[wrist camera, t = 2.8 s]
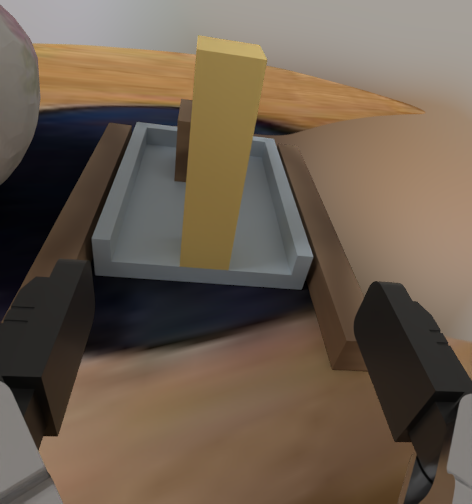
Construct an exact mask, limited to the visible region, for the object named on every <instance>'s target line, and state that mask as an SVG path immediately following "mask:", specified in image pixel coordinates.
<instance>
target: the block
mask: <svg viewBox="0 0 472 504" xmlns="http://www.w3.org/2000/svg"><path fill="white" fill-rule="evenodd" d="M192 101H193V100H185V99H181V105H180V111H179V117H178V126H177V144H176V161H175V178H174V181H178V182H186V177H187V165H188V152H189V139H190V127H191V114H192Z"/></svg>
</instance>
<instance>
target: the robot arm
mask: <svg viewBox="0 0 472 504" xmlns="http://www.w3.org/2000/svg"><path fill="white" fill-rule="evenodd" d="M94 313H95V296H94V287H93V278H92V269H91V263H90V261H89V260H76V259H62V258H60V259H58V261H57V262H56V264H55V266H54V268H53V270H52V272H51V275H50V277H38V276H36V277H35V278H33V279H32V280H31V281H30V282H29V283H27V284H26V285H25V286H24V287H23V288H21V289H20V290H19V292H18V294H17V296H16V298H15V299H14V301H13V303H12V305H11V309H9V310H8V312H7V314H6V316H5V318H4V319H3V320H4V321H3V323H1V325H0V504H63V502H62V500H61V498H60V495H59V493H58V491H57V489H56V487H55V484H54V482H53V480H52V478H51V476H50V474H49V473H48V472H47V470H46V467H45V465H44V463H43V461H42V459H41V456H40V454H39V452H38V450H39V447H40V444H41V441H42V438H43V436H58V434H59V431H60V428H61V424H62V421H63V418H64V415H65V411H66V408H67V405H68V402H69V398H70V395H71V392H72V389H73V385H74V382H75V379H76V376H77V372H78V369H79V366H80V363H81V359H82V356H83V353H84V349H85V346H86V343H87V340H88V336H89V333H90V330H91V327H92V323H93V319H94ZM354 335H355V338H356V341H357V344H358V346H359V349H360V352H361V354H362V357H363V360H364V362H365V365H366V367H367V370H368V373H369V375H370V378H371V381H372V383H373V386H374V388H375V391H376V394H377V396H378V399H379V402H380V404H381V407H382V410H383V412H384V415H385V417H386V420H387V423H388V425H389V428H390V431H391V433H392V436H393V439H394V441H395V442H412V444H413V446H414V449H415V451H414V452H413V454H412V455H411V458H410V461H409V464H408V468H407V471H406V475H405V478H404V482H403V485H402V489H401V492H400V496H399V499H398V503H397V504H472V381H471V379H470V378H469V376H468V374H467V373H466V371H465V369H464V368H463V366H462V364H461V363H460V361H459V360H458V358H457V356H456V355H455V353H454V351H453V350H452V348H451V346H448V342H447V340H446V338H445V337H444V335H443V333H440V328H439V327H438V325H437V324H436V322H435V320H434V319H433V317H432V315H431V314H429V312H427V311H426V310H425V309H424V308H423V307H422V306H421V305H420V304H419V303H418V302H415V301H412V300H411V298H410V296H409V294H408V293H407V291H406V289H405V288H404V286H403V285H402V284H400V283H392V282H377V281H375V282H373V283H372V284H371V285H370V287H369V289H368V291H367V293H366V295H365V297H364V299H363V301H362V303H361V305H360V307H359V309H358V312H357V314H356V316H355V319H354Z"/></svg>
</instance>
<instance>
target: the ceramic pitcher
mask: <svg viewBox="0 0 472 504" xmlns="http://www.w3.org/2000/svg"><path fill="white" fill-rule="evenodd" d="M39 105H40V86H39V71H38V58H37V55H36V52H35V50H34V47H33V45H32V42H31V40H30V38H29V37H28V35H27V34H26V33H25V31H24V30H23V29H22V27H21V26H20V25H19V23H18V22H17V21H16V19H15V18H14V17H13V16H12V15H11V14H10V13H9V12H8V11H6V10H5V9H4V8H3V7H2V6H1V5H0V185H1V184H2V183H3V182H4V181H6V180H7V179H8V177H9V176H10V175H11V174H12V172H13V171H14V170H15V169H16V167H17V166H18V165H19V163H20V162H21V160H22V158H23V156H24V155H25V153H26V151H27V149H28V147H29V145H30V143H31V141H32V139H33V136H34V133H35V129H36V125H37V122H38V114H39Z"/></svg>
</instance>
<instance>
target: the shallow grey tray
mask: <svg viewBox="0 0 472 504" xmlns="http://www.w3.org/2000/svg"><path fill="white" fill-rule="evenodd" d="M266 64H267V59H266V56H265V54H264V53H263V51H262V49H261V47H260V45H256V44H249V43H242V42H236V41H230V40H224V39H217V38H211V37H205V36H199V35H198V41H197V51H196V64H195V76H194V89H193V101H192V114H191V127H190V139H189V152H188V165H187V177H186V182H178V181H174V178H175V161H176V144H177V127H173V126H165V125H157V124H149V123H141V122H137V123H136V126H135V128H134V131H133V133H132V136H131V139H130V141H129V144H128V146H127V149H126V151H125V154H124V157H123V159H122V162H121V164H120V167H119V169H118V172H117V174H116V177H115V180H114V182H113V185H112V187H111V190H110V192H109V195H108V198H107V200H106V203H105V205H104V208H103V210H102V213H101V215H100V218H99V221H98V223H97V226H96V228H95V231H94V233H93V236H92V249H93V258H94V268H95V275H98V276H112V277H126V278H140V279H155V280H169V281H183V282H197V283H212V284H226V285H240V286H254V287H269V288H283V289H297V290H302V288H303V285H304V282H305V279H306V276H307V274H308V271H309V268H310V265H311V262H312V259H313V254H312V251H311V248H310V245H309V242H308V239H307V236H306V233H305V230H304V227H303V224H302V221H301V218H300V215H299V212H298V209H297V207H296V204H295V201H294V198H293V195H292V192H291V189H290V186H289V183H288V180H287V177H286V174H285V171H284V168H283V165H282V162H281V159H280V156H279V153H278V150H277V147H276V144H275V141H274V139H270V138H261V137H254V136H253V134H254V129H255V124H256V118H257V113H258V107H259V102H260V96H261V91H262V86H263V80H264V75H265V69H266Z"/></svg>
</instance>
